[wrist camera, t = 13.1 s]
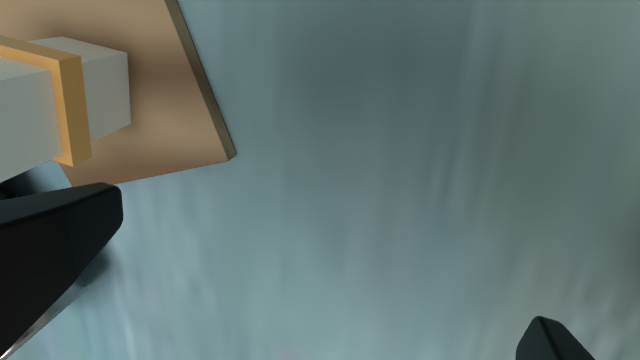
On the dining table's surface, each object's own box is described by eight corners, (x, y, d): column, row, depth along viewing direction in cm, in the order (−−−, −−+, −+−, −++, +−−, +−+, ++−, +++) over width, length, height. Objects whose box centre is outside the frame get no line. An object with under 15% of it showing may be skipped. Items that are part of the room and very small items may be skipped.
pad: (236, 154, 23) (228, 161, 22) (87, 185, 28) (75, 192, 27) (145, -79, 19) (131, -82, 18) (-14, 1, 23) (-32, 2, 23)
